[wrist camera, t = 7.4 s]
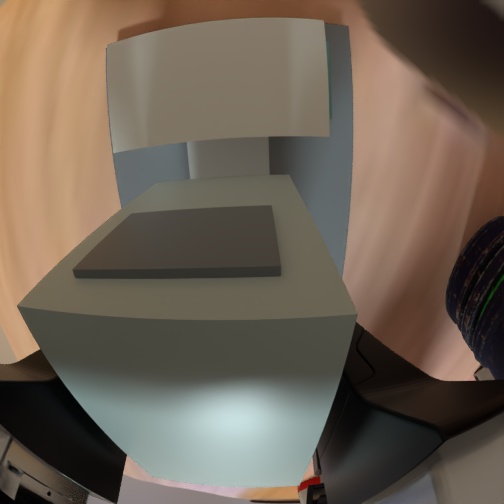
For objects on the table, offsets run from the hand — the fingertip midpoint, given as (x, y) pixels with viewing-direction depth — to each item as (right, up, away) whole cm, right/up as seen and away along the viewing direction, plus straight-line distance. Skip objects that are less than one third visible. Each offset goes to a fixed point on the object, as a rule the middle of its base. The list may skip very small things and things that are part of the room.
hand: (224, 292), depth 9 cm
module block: (0, +1, +1) cm, 2 cm away
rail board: (0, +3, +5) cm, 6 cm away
